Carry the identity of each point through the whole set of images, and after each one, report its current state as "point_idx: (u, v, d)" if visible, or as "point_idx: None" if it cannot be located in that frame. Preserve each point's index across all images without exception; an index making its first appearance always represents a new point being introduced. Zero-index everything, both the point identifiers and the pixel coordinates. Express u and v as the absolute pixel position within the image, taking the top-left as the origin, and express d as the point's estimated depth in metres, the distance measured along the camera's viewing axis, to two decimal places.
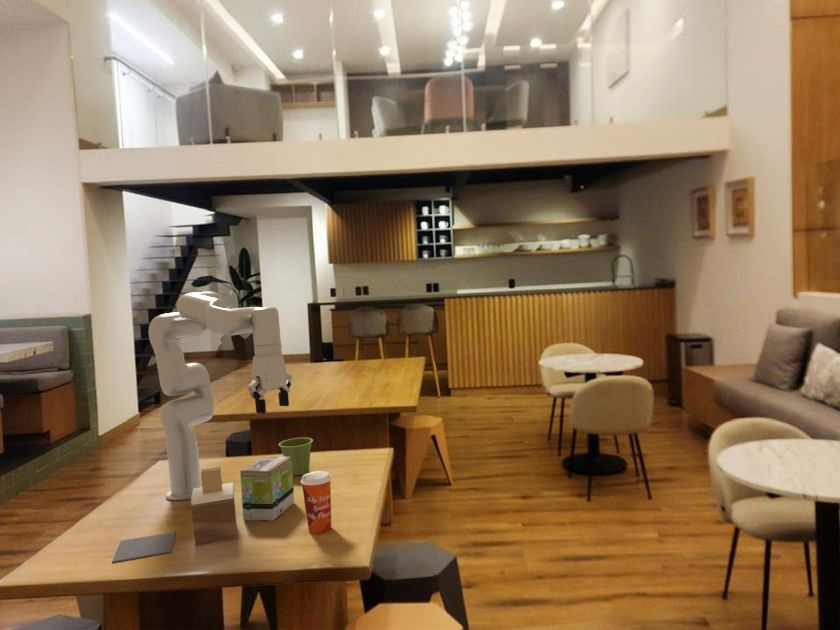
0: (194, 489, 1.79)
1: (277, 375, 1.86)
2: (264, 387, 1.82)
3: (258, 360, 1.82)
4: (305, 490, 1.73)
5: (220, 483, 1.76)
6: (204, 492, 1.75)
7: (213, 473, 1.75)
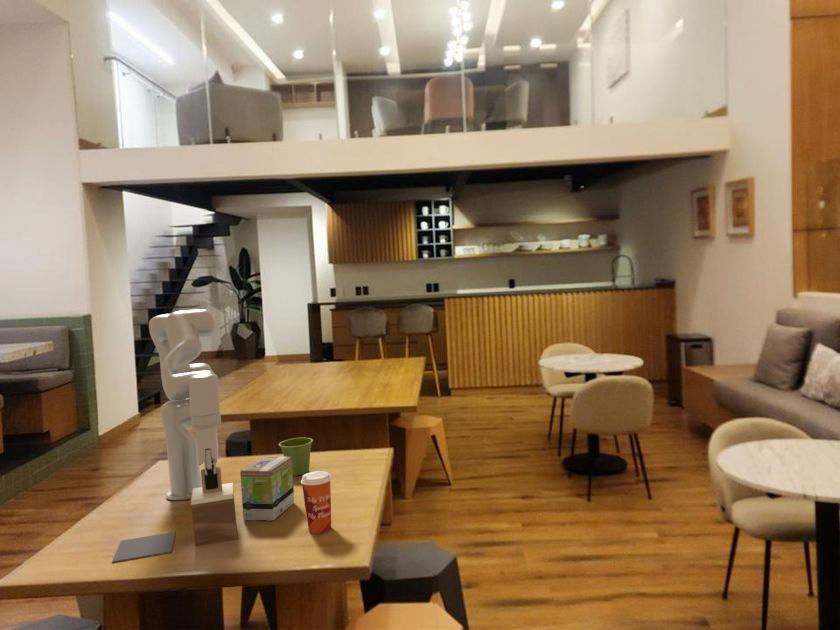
0: (194, 489, 1.79)
1: None
2: (216, 459, 1.72)
3: (207, 432, 1.71)
4: (305, 490, 1.73)
5: (220, 483, 1.76)
6: (204, 492, 1.75)
7: None
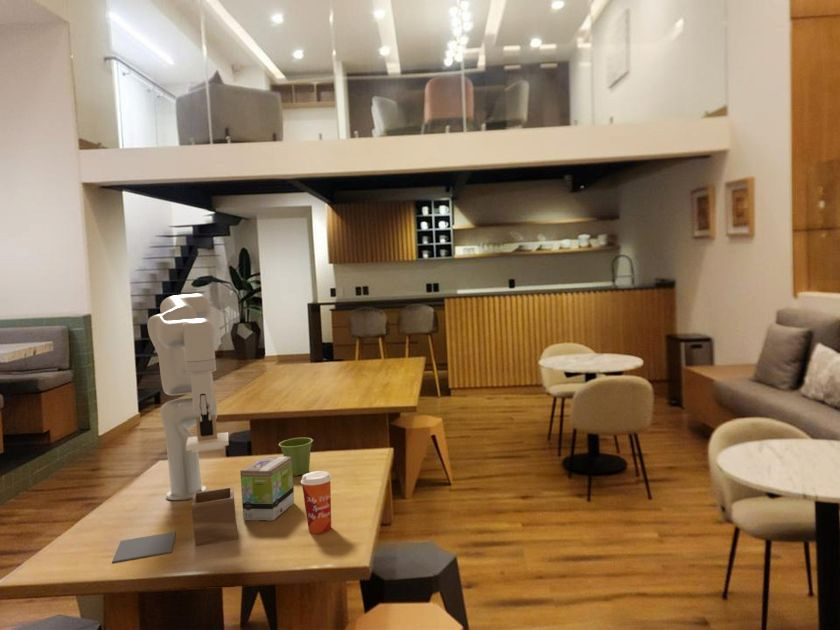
0: (189, 437, 1.78)
1: None
2: (211, 404, 1.71)
3: (202, 377, 1.70)
4: (305, 490, 1.73)
5: (215, 431, 1.75)
6: (199, 439, 1.74)
7: None
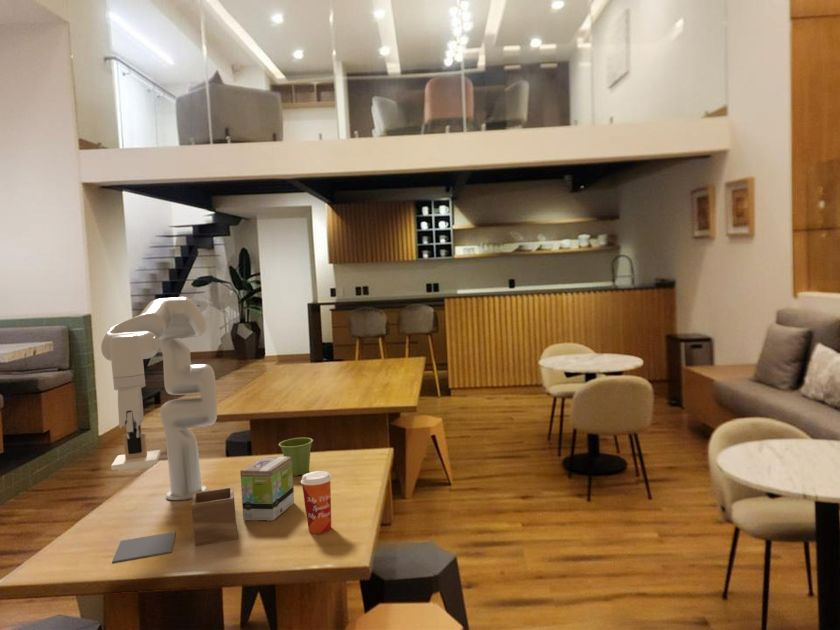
0: (118, 456, 1.73)
1: (142, 408, 1.71)
2: (138, 421, 1.66)
3: (128, 393, 1.65)
4: (305, 490, 1.73)
5: (144, 449, 1.70)
6: (127, 458, 1.69)
7: None
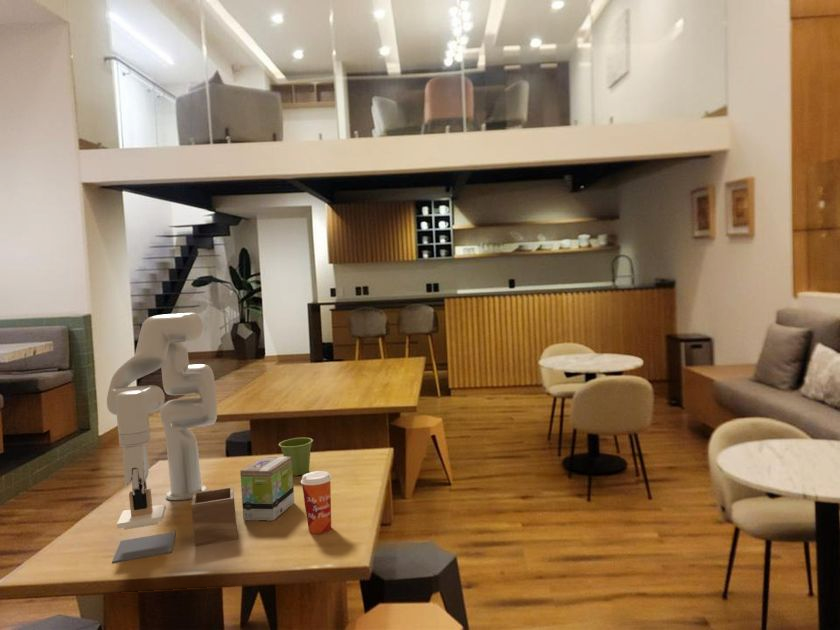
0: (124, 511, 1.74)
1: (147, 463, 1.72)
2: (143, 478, 1.67)
3: (133, 450, 1.66)
4: (305, 490, 1.73)
5: (149, 505, 1.71)
6: (132, 515, 1.70)
7: None
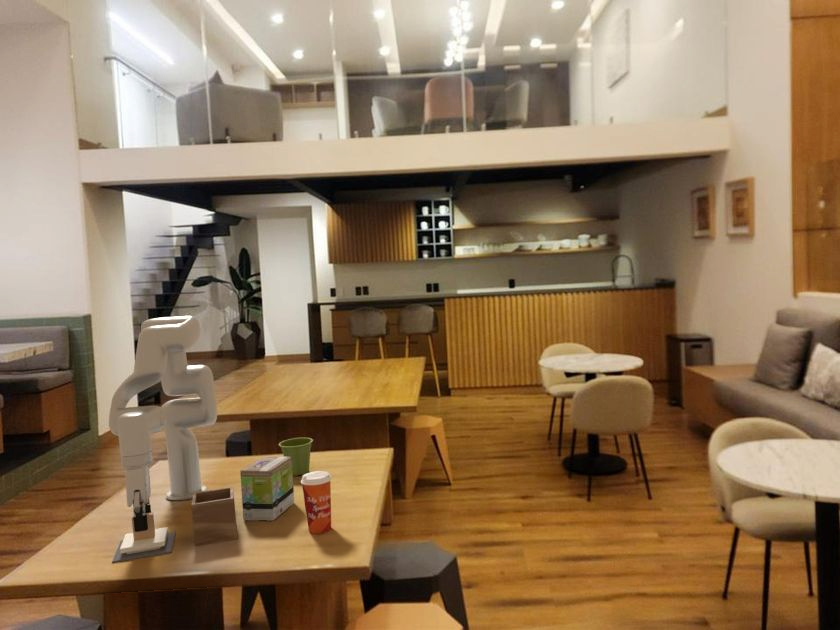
0: (127, 535, 1.75)
1: (149, 484, 1.72)
2: (145, 500, 1.67)
3: (136, 472, 1.67)
4: (305, 490, 1.73)
5: (152, 529, 1.71)
6: (135, 539, 1.70)
7: None
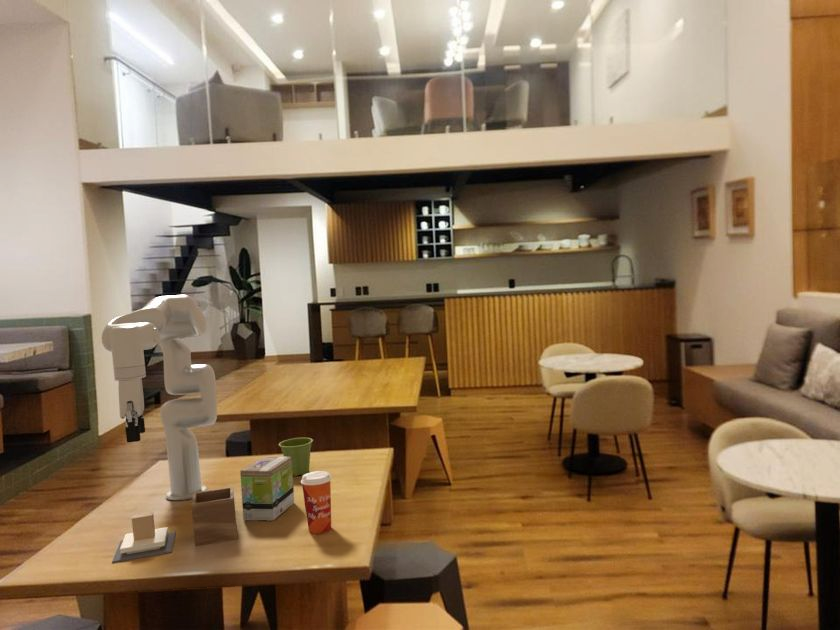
0: (127, 535, 1.75)
1: (142, 398, 1.72)
2: (138, 412, 1.67)
3: (129, 384, 1.66)
4: (305, 490, 1.73)
5: (152, 529, 1.71)
6: (135, 539, 1.70)
7: (145, 519, 1.71)
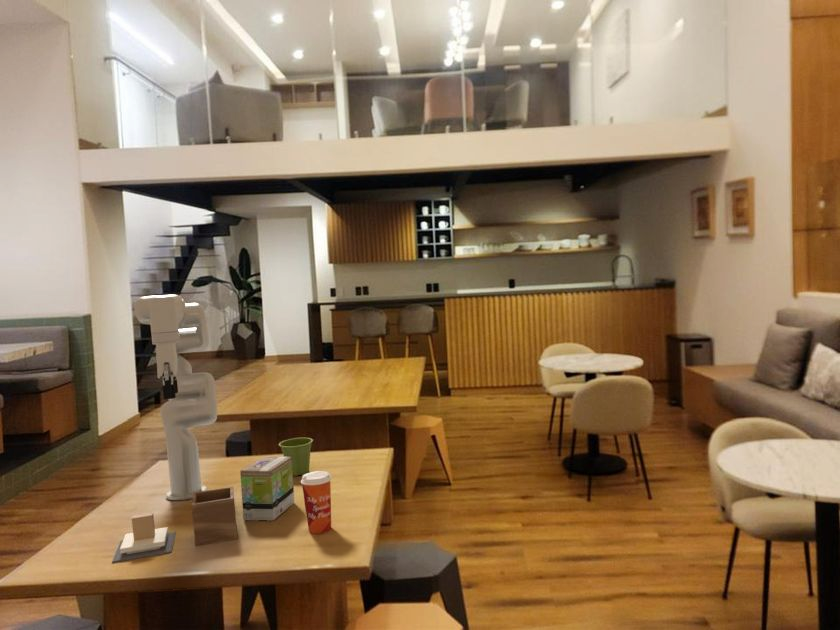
0: (127, 535, 1.75)
1: None
2: (174, 372, 1.87)
3: (165, 347, 1.86)
4: (305, 490, 1.73)
5: (152, 529, 1.71)
6: (135, 539, 1.70)
7: (145, 519, 1.71)
